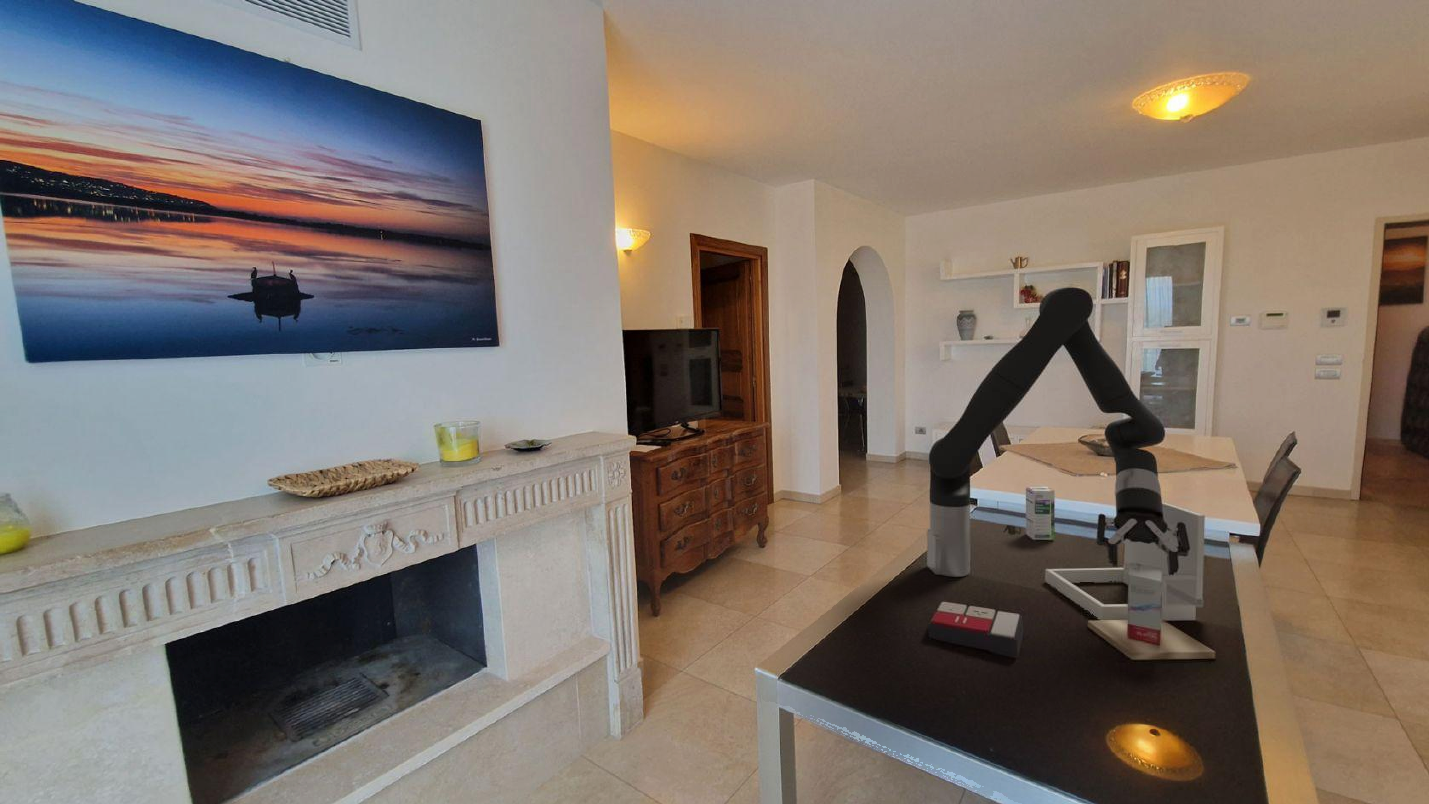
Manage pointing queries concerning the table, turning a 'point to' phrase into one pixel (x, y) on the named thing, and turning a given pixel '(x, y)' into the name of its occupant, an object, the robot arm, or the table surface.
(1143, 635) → the ink box
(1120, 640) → the oak board
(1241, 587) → the table surface
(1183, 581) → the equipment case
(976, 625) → the grey red white block
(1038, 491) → the syrup box
